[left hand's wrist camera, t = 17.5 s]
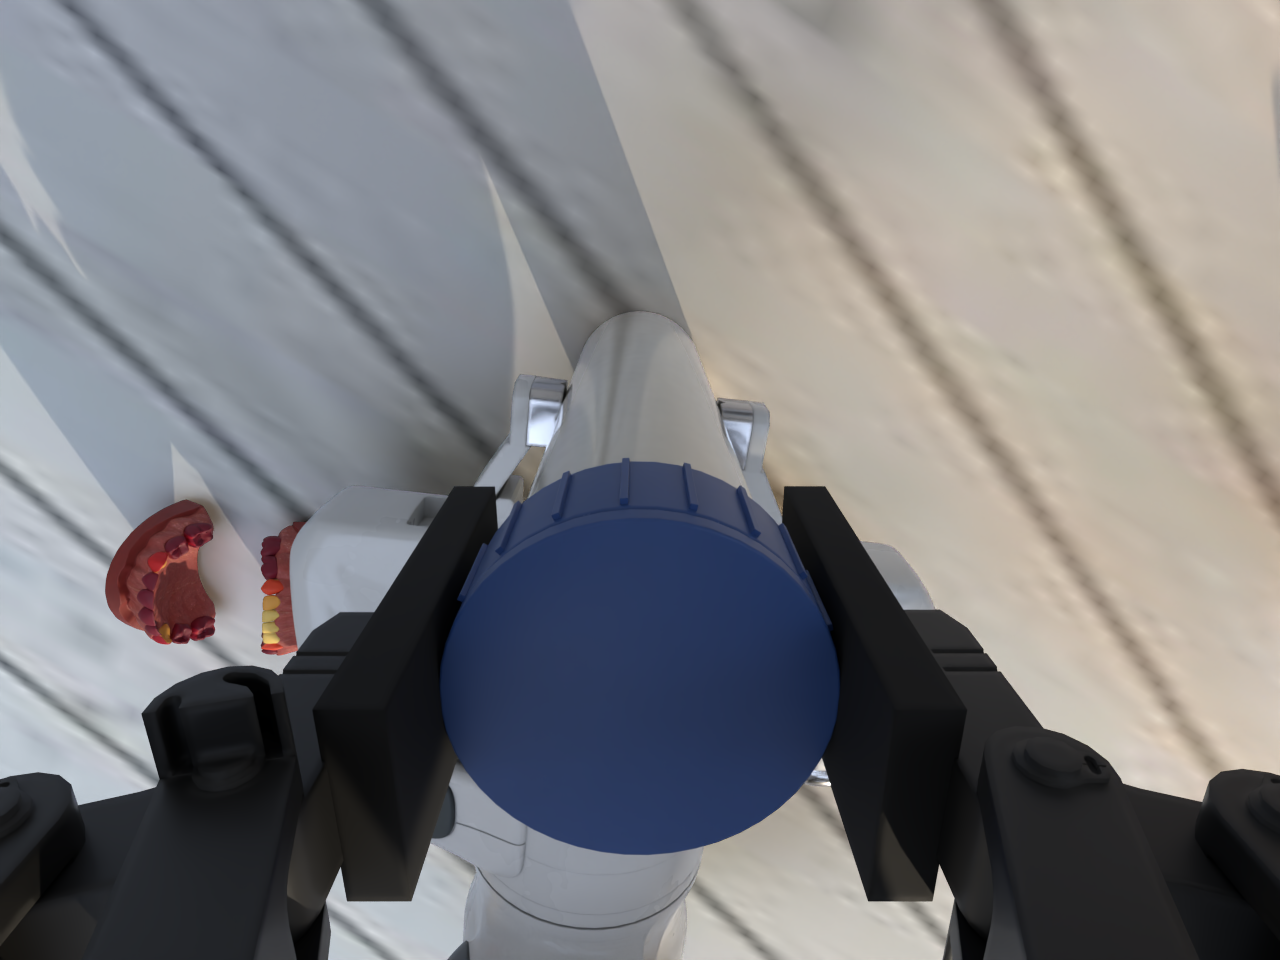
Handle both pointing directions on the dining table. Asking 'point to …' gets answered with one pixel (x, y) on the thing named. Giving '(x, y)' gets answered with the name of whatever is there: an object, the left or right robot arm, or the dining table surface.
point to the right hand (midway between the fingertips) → (641, 392)
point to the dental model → (192, 580)
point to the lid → (639, 662)
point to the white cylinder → (639, 405)
